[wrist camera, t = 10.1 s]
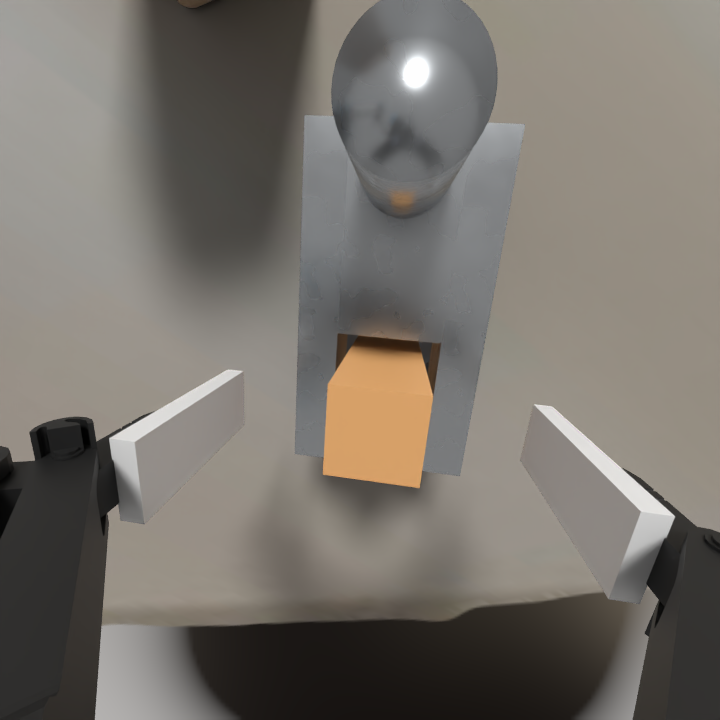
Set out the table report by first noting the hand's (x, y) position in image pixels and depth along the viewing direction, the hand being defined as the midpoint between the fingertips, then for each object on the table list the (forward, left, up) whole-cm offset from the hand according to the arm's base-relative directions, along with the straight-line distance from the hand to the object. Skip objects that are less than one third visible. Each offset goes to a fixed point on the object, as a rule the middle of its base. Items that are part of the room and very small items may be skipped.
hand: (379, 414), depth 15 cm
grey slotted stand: (0, +4, -13) cm, 13 cm away
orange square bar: (0, 0, -12) cm, 12 cm away
